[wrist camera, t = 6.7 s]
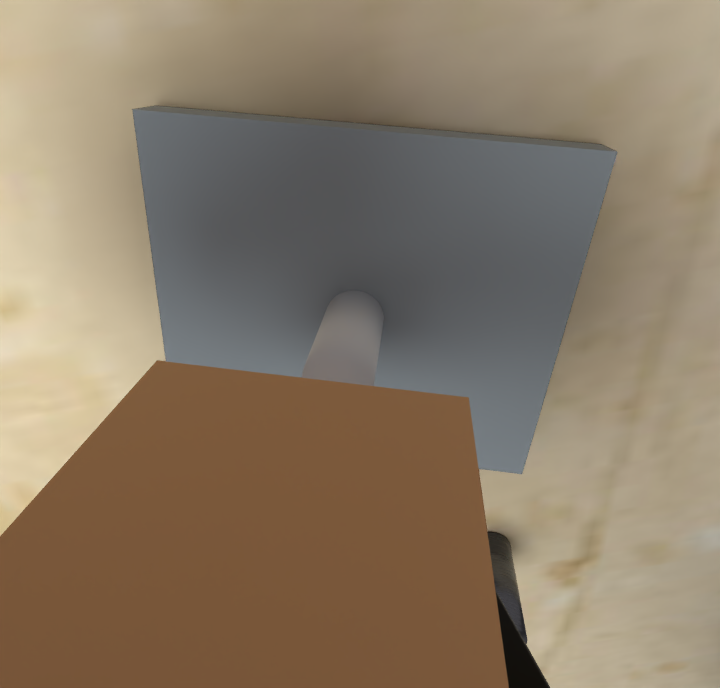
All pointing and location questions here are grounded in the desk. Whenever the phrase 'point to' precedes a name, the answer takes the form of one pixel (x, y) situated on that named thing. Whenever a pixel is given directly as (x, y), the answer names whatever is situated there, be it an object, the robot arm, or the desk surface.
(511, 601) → the dark grey cylinder
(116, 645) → the brown square box
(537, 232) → the board
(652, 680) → the desk surface
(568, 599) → the desk surface
